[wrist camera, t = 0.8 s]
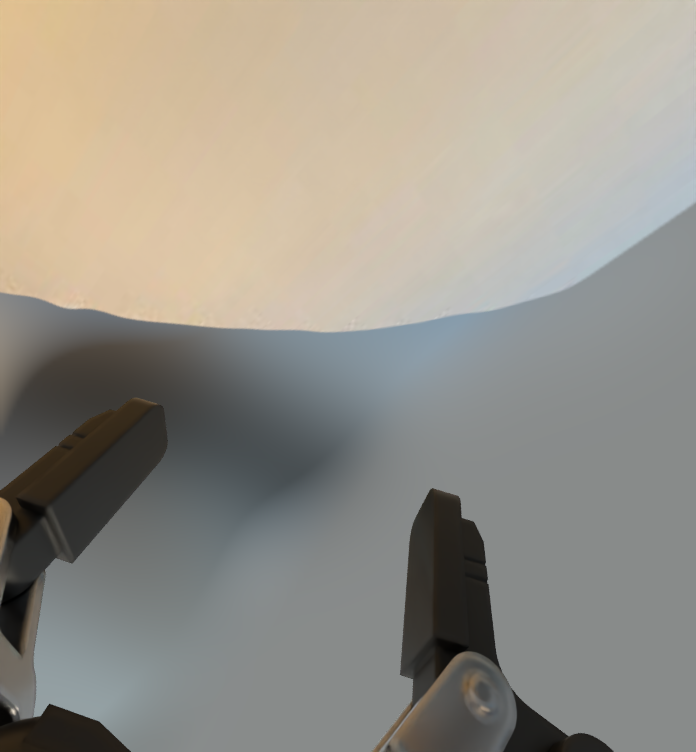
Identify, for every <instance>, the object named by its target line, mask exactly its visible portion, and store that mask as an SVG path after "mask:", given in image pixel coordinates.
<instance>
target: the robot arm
mask: <svg viewBox="0 0 696 752" xmlns="http://www.w3.org/2000/svg"><path fill="white" fill-rule="evenodd" d="M167 443H168V440H167V431H166V423H165V415H164V408H163V407H162V406H161V405H159V404H156V403H152V402H149V401H146V400H143V399H139V398H132V399H130V400H129V401H127V402H126V403H125V404H124V405H123V406H122V407H120V408H119V409H118V410H117V411H114V410H108V411H106V412H104V413H102V414H99V415H97V416H95V417H92V418H90V419H89V420H87V421H86V422H85V423H84V424H83V425H81V426H80V427H79V428H78V429H76V430H75V431H74V432H73V434H72V435H69V436H68V437H66V438H65V439H64V440H63V441H61V442H60V443H59V446H55V447H54V448H53V449H51V450H50V451H49V452H48V453H47V454H45V455H44V456H43V457H42V458H40V459H39V460H38V461H37V462H35V463H34V464H33V465H32V466H30V467H29V468H28V469H27V470H25V471H24V472H23V473H22V474H20V475H19V476H18V477H17V478H16V479H14V480H13V481H12V482H11V483H9V484H8V485H7V486H6V487H4V488H3V489H2V490H0V752H131V751H130V750H129V749H127V748H126V747H125V746H124V745H123V744H122V743H121V742H120V741H119V740H118V739H117V738H116V737H115V736H114V735H113V734H112V733H111V732H110V731H109V730H107V729H106V728H105V727H104V726H103V725H102V724H101V723H100V722H99V721H96V720H93V719H90V718H88V717H85V716H82V715H79V714H76V713H74V712H71V711H68V710H65V709H63V708H60V707H57V706H54V705H51V704H49V705H48V706H47V708H46V709H45V711H44V712H43V714H42V715H41V716H40V717H33V715H34V708H35V700H36V675H35V670H34V648H35V641H36V635H37V628H38V622H39V616H40V609H41V603H42V596H43V589H44V583H45V575H46V572H45V569H46V568H47V567H48V566H49V565H50V563H51V562H52V561H53V560H54V559H55V558H57V559H60V560H63V561H66V562H69V563H73V562H74V561H75V560H76V559H77V557H78V556H79V555H80V554H81V553H82V551H83V550H84V549H85V548H86V547H87V546H88V545H89V544H90V542H91V541H92V540H93V539H94V537H95V536H96V535H97V534H98V533H99V532H100V531H101V530H102V528H103V527H104V526H105V525H106V524H107V523H108V521H109V520H110V519H111V518H112V517H113V516H114V514H115V513H116V512H117V511H118V510H119V509H120V507H121V506H122V505H123V504H124V503H125V501H126V500H127V499H128V498H129V497H130V496H131V495H132V493H133V492H134V491H135V490H136V489H137V488H138V487H139V485H140V484H141V483H142V482H143V481H144V480H145V478H146V477H147V476H148V475H149V474H150V472H151V471H152V470H153V469H154V468H155V467H156V466H157V464H158V463H159V462H160V461H161V459H162V458H163V456H164V454H165V451H166V449H167ZM485 563H486V560H485V551H484V542H483V540H482V538H481V536H480V534H479V531H478V530H477V527H476V525H475V523H474V522H473V521H470V520H466V519H463V518H462V517H461V503H460V498H459V496H456V495H453V494H450V493H446V492H443V491H440V490H436V489H433V488H432V489H431V490H430V491H429V493H428V495H427V497H426V499H425V501H424V503H423V504H422V507H421V508H420V510H419V512H418V514H417V516H416V518H415V520H414V523H413V526H412V530H411V535H410V543H409V557H408V573H407V585H406V601H405V614H404V628H403V642H402V657H401V670H400V675H402V676H405V677H408V678H411V679H413V696H412V700H411V701H410V703H409V704H408V705H407V706H406V708H405V709H404V710H403V711H402V713H401V714H400V715H399V717H398V718H397V719H396V720H395V722H394V723H393V724H392V725H391V727H390V728H389V729H388V731H387V732H386V733H385V734H384V736H383V737H382V738H381V740H380V741H379V742H378V743H377V744H376V746H375V747H374V748H373V750H372V751H371V752H613V751H612V750H611V749H610V748H609V747H608V746H607V745H606V744H605V743H603V742H602V741H600V740H599V739H597V738H595V737H593V736H591V735H588V734H584V733H578V734H574V735H571V736H567V735H566V734H565V733H563V732H562V731H561V730H559V729H558V728H557V727H555V726H554V725H553V724H551V723H550V722H548V721H547V720H546V719H544V718H543V717H542V716H541V715H539V714H538V713H537V712H535V711H534V710H532V709H531V708H530V707H529V706H527V705H526V704H525V703H524V702H523V701H522V700H521V699H520V698H519V697H518V696H517V695H516V694H515V692H514V691H513V690H512V688H511V687H510V685H509V683H508V681H507V679H506V678H505V676H504V674H503V673H502V670H501V668H500V666H499V662H498V659H497V655H496V648H495V640H494V630H493V621H492V613H491V604H490V595H489V586H488V584H487V580H488V577H487V568H486V566H485Z"/></svg>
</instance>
